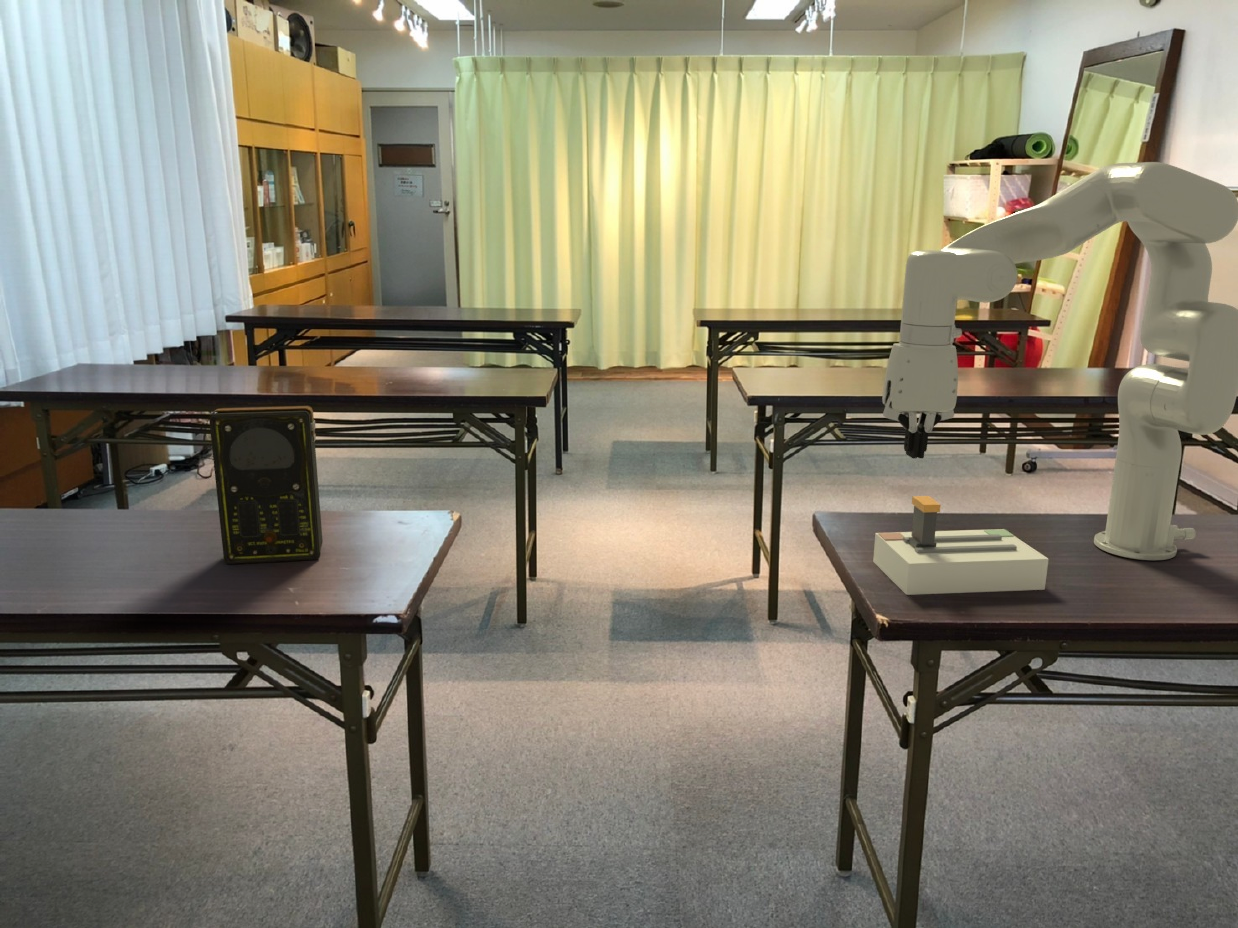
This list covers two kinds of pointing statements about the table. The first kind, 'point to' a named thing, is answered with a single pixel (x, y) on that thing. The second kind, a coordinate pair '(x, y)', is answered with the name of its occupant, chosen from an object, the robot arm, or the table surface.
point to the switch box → (961, 562)
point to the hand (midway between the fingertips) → (914, 456)
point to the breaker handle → (924, 521)
